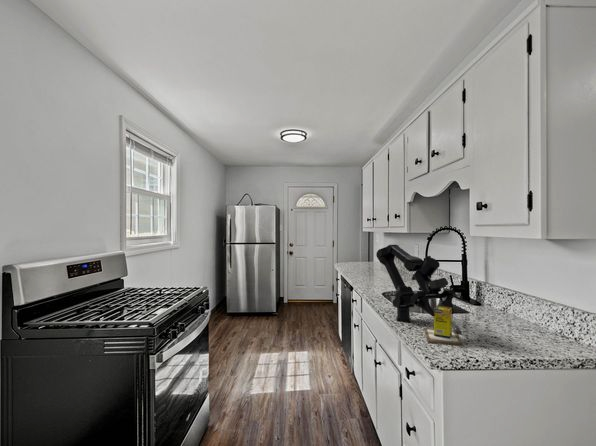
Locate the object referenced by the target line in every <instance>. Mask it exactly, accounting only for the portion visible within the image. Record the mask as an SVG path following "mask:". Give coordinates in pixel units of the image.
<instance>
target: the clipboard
mask: <svg viewBox="0 0 596 446" xmlns="http://www.w3.org/2000/svg"><path fill="white" fill-rule="evenodd" d="M423 331H424V335H425V337H426V340H427V343H428V344H438V345H439V344H440V345H450V346H463V341H462V340H461V339H460V337H459V334H456V332H455V331H454V329H452V335H451V337H450V338H444V337H438V336H434V326H433V327H432V328H428V327H427V328H426V327H425V328H424V327H423Z"/></svg>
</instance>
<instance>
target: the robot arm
mask: <svg viewBox="0 0 596 446" xmlns="http://www.w3.org/2000/svg"><path fill="white" fill-rule="evenodd" d="M376 258H377V260H378V262H379V263H380V264H382V265H383V266H384V267H385V269H386V272H387V273H388V275H389V278H390V280H391V282H392V284H393V286H394V289H395V292H394V293H395V294H394V297H395V298H394V299H393V300H392V302H391V303H392V307H394V308H396V309H397V310H396V316H395V317H396V321H397V322H406V323H407V322H409V323H410V322H412V319H411V317H410V316H411V310H410V309H411V308H414V307H415V306H416V307H418V308H420V309H422V310H424V311H425V312H426V313H427V314H428V315H430V316H431V317H434V316H435V314H434V309H432V306H431V304H430V303H429V300H436V299H437V300H438V299H439V300H440V302H441V304H442V305H443V307H451V308H452V316H453V315H454V314H455V312H454V307H453V299H454V297H455V296H456V295H457V293H456V291H455V290H454V289H451V288H450V289H443V288H446V287H447V286H448V285H449V282H448V279H447V278H446V277H441V278H439V279H433V280H432V278H431V277H432V276H433V275H434V273H435V272H436V271H437V270H438V269H439V268H440V262H439V261H438V260H436V258H433V257H431V255H426V256H425V257H424V259H422V258H420V257H418V256H415V255H411V254H410V253H408V252H407V251H406V250H404V249H403V248H401V247H400V245H399V244H388V245H386V246H385V247H382V248H378V250H377V252H376ZM395 258H396V259H398V260H400V262H402V263H403V266H404V268H405V269H406V271H408V272H410V273H411V272H414V273H413V274H412V277H411V280H412V281H415V282H416V283H417V285H418V286H419V287H418V290H419V291H414V290H413V288H412V287H411V286H407V285H406V284H405V282H404V279H403V278H402V276H401V273H400V271H399V269H398V267H397V265H396V263H395ZM442 289H443V290H442ZM441 291H442V292H441Z"/></svg>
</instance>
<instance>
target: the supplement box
mask: <svg viewBox="0 0 596 446" xmlns="http://www.w3.org/2000/svg"><path fill="white" fill-rule="evenodd" d="M433 312H434V314H435V316H433V327H434V336H438V337H444V338H450V337H451V335H452V330H453V327H452V321H453V319H452V318H453V315H452V308H451V307H445V306H444V305H443V306H441V305H436V306H435V307H434V308H433Z"/></svg>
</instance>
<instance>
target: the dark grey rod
mask: <svg viewBox="0 0 596 446" xmlns="http://www.w3.org/2000/svg"><path fill="white" fill-rule="evenodd" d="M452 330H454V331H455V332H456V334H457V335H461V332H462V331H461V330H460V328H459V327H458V326H457V323H455V322H454V321H453V320H452Z"/></svg>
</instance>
